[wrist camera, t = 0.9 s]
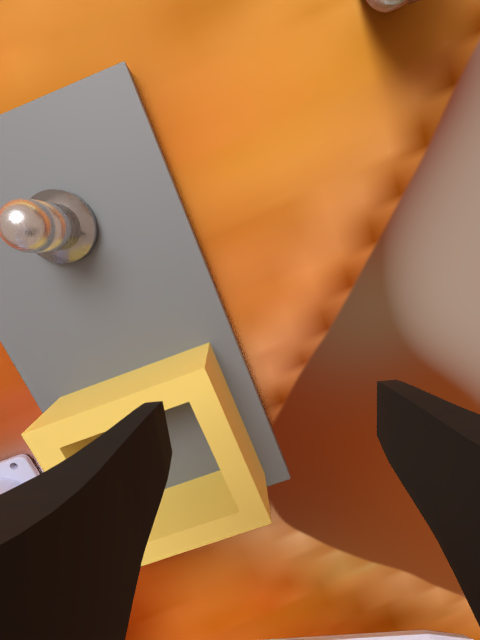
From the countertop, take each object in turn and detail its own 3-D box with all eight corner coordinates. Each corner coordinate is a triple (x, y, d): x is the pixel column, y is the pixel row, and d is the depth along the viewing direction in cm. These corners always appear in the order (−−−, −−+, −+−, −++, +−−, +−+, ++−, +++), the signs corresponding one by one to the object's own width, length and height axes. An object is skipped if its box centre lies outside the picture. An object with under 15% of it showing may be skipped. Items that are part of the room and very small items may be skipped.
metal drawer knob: (49, 272, 19) (-6, 283, 15) (14, 206, 18) (-55, 197, 14) (110, 248, 19) (73, 252, 14) (78, 179, 18) (29, 162, 14)
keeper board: (120, 525, 25) (115, 537, 24) (-88, 164, 18) (-106, 160, 17) (288, 468, 24) (290, 478, 23) (130, 70, 18) (124, 61, 17)
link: (129, 519, 23) (109, 576, 20) (59, 397, 21) (21, 434, 17) (264, 473, 23) (271, 523, 19) (209, 342, 20) (204, 367, 16)
